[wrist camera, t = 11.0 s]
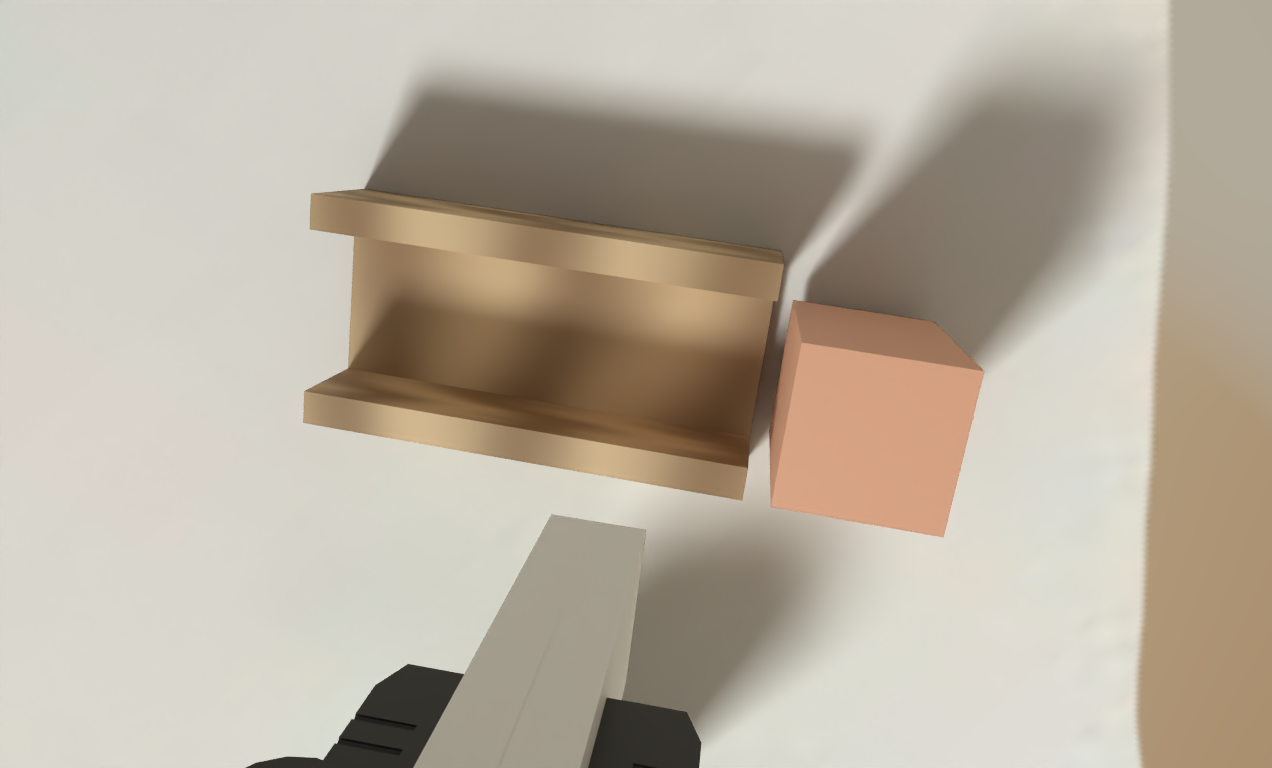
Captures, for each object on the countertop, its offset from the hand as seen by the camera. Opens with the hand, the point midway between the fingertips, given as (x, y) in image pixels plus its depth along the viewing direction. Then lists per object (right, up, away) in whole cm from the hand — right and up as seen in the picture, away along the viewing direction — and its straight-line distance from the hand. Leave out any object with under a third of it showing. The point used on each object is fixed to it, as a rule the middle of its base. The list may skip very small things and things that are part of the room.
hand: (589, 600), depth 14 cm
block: (+8, +4, +18) cm, 21 cm away
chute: (-2, +6, +20) cm, 21 cm away
